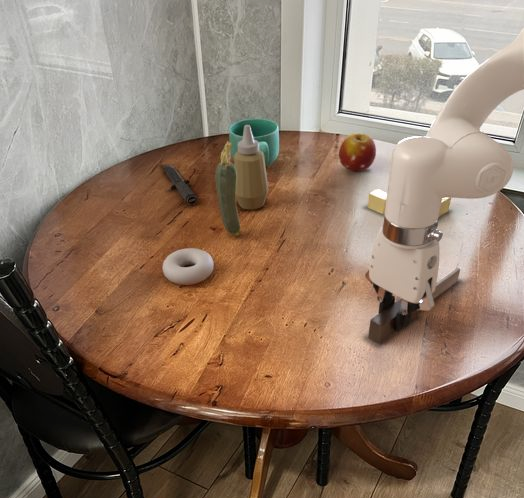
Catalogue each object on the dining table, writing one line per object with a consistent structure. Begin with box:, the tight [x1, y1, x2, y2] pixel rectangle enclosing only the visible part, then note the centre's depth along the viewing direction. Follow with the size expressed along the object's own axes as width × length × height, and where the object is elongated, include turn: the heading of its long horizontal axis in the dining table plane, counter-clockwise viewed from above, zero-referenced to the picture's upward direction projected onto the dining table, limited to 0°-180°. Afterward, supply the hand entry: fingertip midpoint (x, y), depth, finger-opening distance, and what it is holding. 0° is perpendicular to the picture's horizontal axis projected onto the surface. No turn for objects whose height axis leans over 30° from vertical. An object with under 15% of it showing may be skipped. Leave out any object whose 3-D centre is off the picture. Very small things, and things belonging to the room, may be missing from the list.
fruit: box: [338, 132, 377, 172], centre depth 135 cm, size 10×9×8 cm
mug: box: [228, 118, 280, 167], centre depth 137 cm, size 17×13×10 cm
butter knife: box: [367, 267, 461, 345], centre depth 94 cm, size 2×24×4 cm, turn 132°
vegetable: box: [214, 140, 242, 237], centre depth 109 cm, size 4×4×20 cm
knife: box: [163, 165, 198, 206], centre depth 134 cm, size 24×5×3 cm, turn 17°
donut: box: [161, 247, 215, 286], centre depth 105 cm, size 10×4×10 cm
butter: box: [438, 197, 452, 218], centre depth 118 cm, size 4×8×4 cm, turn 132°
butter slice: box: [367, 188, 387, 215], centre depth 120 cm, size 4×3×4 cm, turn 42°
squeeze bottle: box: [233, 125, 269, 211], centre depth 119 cm, size 8×8×18 cm
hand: (393, 322), depth 91 cm, fingers closed
